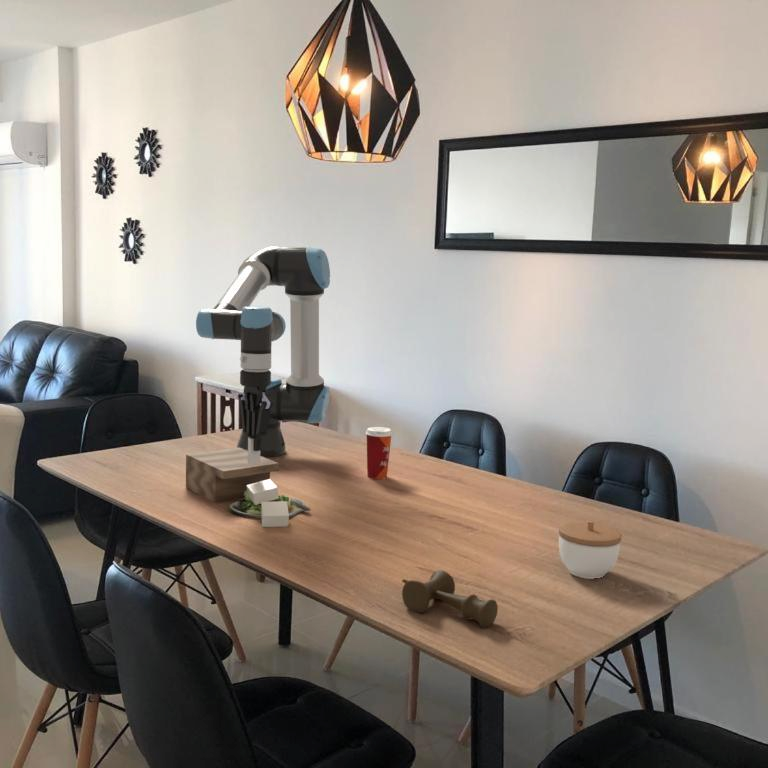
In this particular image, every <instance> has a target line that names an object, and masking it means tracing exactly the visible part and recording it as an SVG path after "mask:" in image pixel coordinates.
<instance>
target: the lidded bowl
mask: <svg viewBox="0 0 768 768" xmlns="http://www.w3.org/2000/svg"><path fill="white" fill-rule="evenodd" d="M622 535H623V534H622V533H621V532H620V531H619V530H618V528H615V527H613V526H610V525H608V524H604V523H600V522H595V521H593V520H588V521H586V520H584V521H582V520H573V521H568V522H564V523H562V524H561V525H560V526H559V527H558V550H559V557H560V559H561V561H562V562H563V565H564V566H565V567H566V568H567V569H568V572H569V574H571V575H573V577H574V576H575V577H576V578H582V579H586V580H595V579H594V578H599V579H601V578H600V577H602V578H604V577H605V575H606V574H607V573H609V572H610V571H611V570H612V569H613V568H614V566H615V565H616V563H617V561H618V557H619V554H620V551H621V549H620V547H621V541H622ZM603 576H604V577H603Z"/></svg>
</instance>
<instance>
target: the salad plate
mask: <svg viewBox="0 0 768 768" xmlns="http://www.w3.org/2000/svg"><path fill="white" fill-rule="evenodd" d="M278 496H279V499H275V500H272V501H268V502H277V501H287V506H288V512H289V517H290V518H292V517H294V516H296V515H297V513H298V514H301V513H302V512H309V511H311V510H312V509H311V508H310V507H308V506H306V505H305V503H304V502H303V501H302V500H301V499H297V498H292V497H289V496H286V495H284V494H282V495H279V494H278ZM228 509H229V511H230V512H231V513H232V514H233V515H236V516H239V517H242V516H243V518H251V517H252V518H251V519H258V520H259V519H260V520H262V518H261V504H257V505H255V504H254V503H253V502H252V500H251V499H250V498H249V497H248V492H247V490H246V491H244V494H243V498H240V499H238V501H235V502H232V503H231V504H229V505H228Z"/></svg>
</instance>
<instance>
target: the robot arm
mask: <svg viewBox="0 0 768 768" xmlns="http://www.w3.org/2000/svg"><path fill="white" fill-rule="evenodd" d="M329 262H330V261H329V258H328V255H327V253H326V252H325V251H324V250H323V249H321V248H317V247H316V248H315V247H310V246H279V245H275V246H274V245H273V246H268V247H265V248H262V249H260V250H257V251H256V252H254V253H253V254H251V255H250V256H248V257H247V258H246V259H244V260H243V261H242V263H241V264H240V266H239V267H238V269H237V276H236V277H235V279H234V280H233V281H232V283H231V284H230V286H229V287H228V288H227V289H226V291H225V293H224V294H223V295H222V297H220V299H219V301H218V302H217V304H216V305H215V306H214V307H213V309H212V308H207V309H206V308H204V309H203V308H202V309H200V310H199V311H198V313H197V314H196V319H195V328H196V333H197V334H198V336H199V337H201V338H205V339H210V340H214V339H215V340H231V341H240V358H239V360H240V368H241V370H240V372H239V373H240V375H239V384H240V385H241V386H243V391H242V393H238V394H237V398H238V402H239V406H240V407H239V409H240V416H241V417H240V418H241V419H240V420H241V427H242V429H241V433H240V436H239V437H238V441H237V445H236V448H242V449H244V450H247V451H248V463H250V464H254V463H260V456H262V457H264V458H271V457H277V456H282V455H283V454H285V453H286V442H285V439H284V436H283V431H282V428H281V422H282V421H283V422H293V423H294V422H296V423H304V424H305V423H306V424H318V423H321V422H323V420H324V419H325V417H326V414H327V411H328V407H329V401H330V396H331V395H330V392H331V391H330V386H327V385H325V379H324V378H323V377H322V376H321V375H320V298H321V297H322V296H323V295H324V294H325V290H326V289H327V288H329V286H330V282H331V280H330V279H331V269H330V263H329ZM269 286H270V287H271V286H278V287H284V293H285V295H286V296H287V297H288V298H289V304H290V305H289V306H290V307H289V308H290V310H289V313H290V319H289V320H290V322H289V323H290V375H289V376H288V377H287V379H286V380H285V381H286V383H283V381H282V378H280V377H272V373H271V372H272V371H270V369H272V344H273V343H272V342H274V341H277V340H279V339H280V338H281V337H282V336H283V335H284V333H285V331H286V327H287V325H286V320H285V319H284V318H283V316H282V315H281V314H280V313H279V312H275V311H272V308H270V307H267V306H254V305H253V306H252V303H253V302H254V300H256V297H257V296H258V295H259V293H260V291H263V290H265V289H267V287H269Z"/></svg>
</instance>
